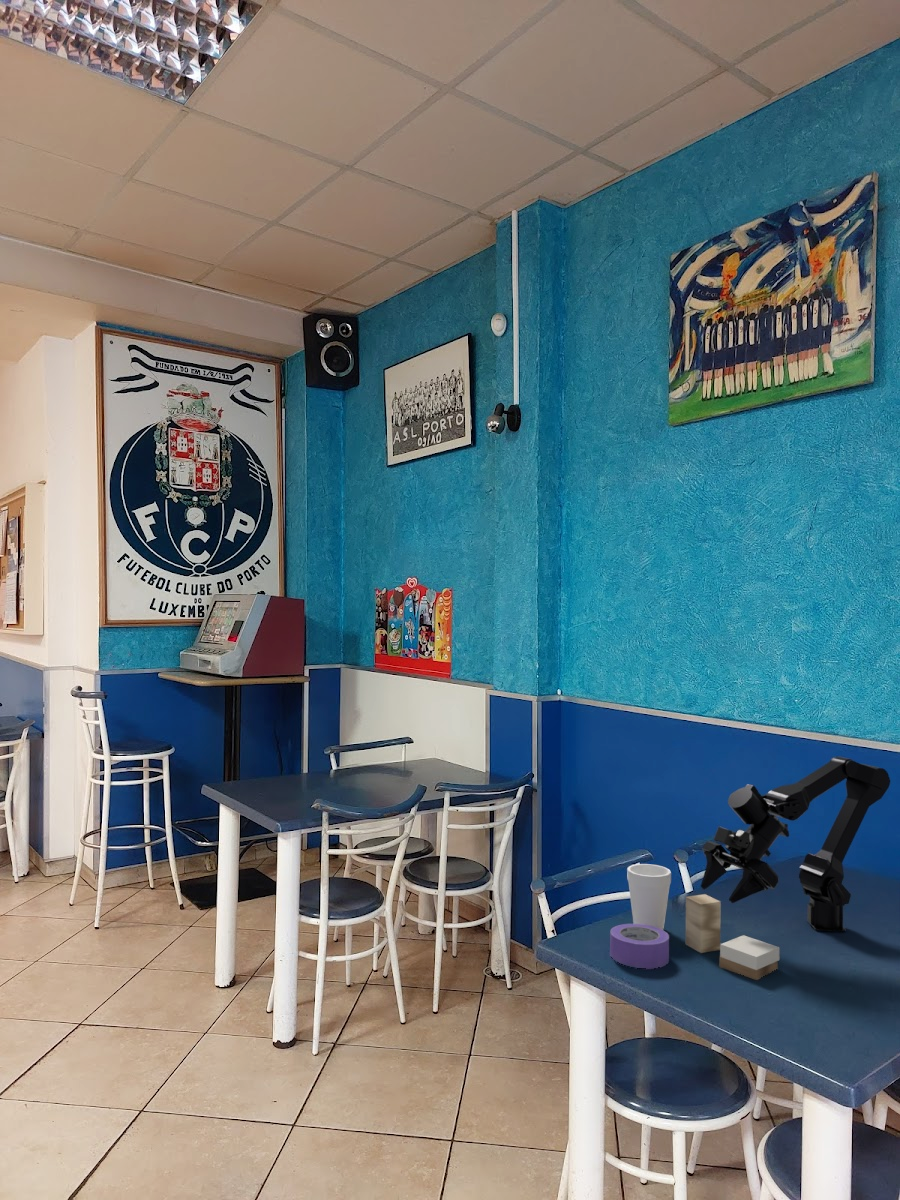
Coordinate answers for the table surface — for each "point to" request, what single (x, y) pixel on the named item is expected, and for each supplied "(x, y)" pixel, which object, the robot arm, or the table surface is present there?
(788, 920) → the table surface
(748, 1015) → the table surface
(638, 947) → the tape roll
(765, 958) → the cream slab
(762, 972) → the walnut slab
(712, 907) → the beech pillar
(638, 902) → the foam cup
